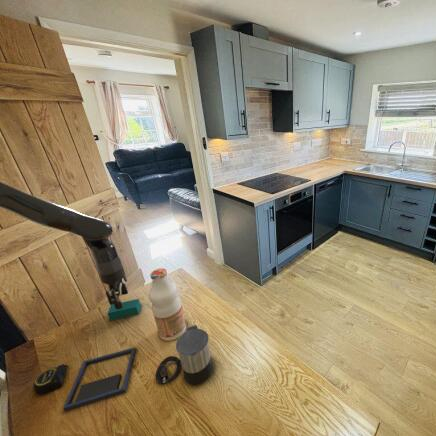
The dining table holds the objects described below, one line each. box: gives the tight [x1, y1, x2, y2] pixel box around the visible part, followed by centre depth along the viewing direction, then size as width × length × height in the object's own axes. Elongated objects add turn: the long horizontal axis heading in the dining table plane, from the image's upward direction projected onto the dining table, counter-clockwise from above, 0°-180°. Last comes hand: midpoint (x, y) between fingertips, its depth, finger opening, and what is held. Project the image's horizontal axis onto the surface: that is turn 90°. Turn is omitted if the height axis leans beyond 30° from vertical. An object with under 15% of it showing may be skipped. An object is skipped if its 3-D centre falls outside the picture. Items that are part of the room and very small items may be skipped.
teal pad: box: [107, 298, 142, 321], centre depth 98 cm, size 10×5×5 cm, turn 111°
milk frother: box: [155, 324, 214, 386], centre depth 74 cm, size 14×16×15 cm
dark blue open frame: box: [62, 347, 137, 412], centre depth 74 cm, size 15×15×2 cm
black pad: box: [74, 373, 122, 402], centre depth 71 cm, size 10×5×2 cm, turn 111°
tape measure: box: [32, 363, 69, 395], centre depth 72 cm, size 7×7×4 cm
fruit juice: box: [148, 267, 187, 342], centre depth 86 cm, size 9×9×28 cm
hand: (122, 300), depth 96 cm, fingers open, 8 cm apart
